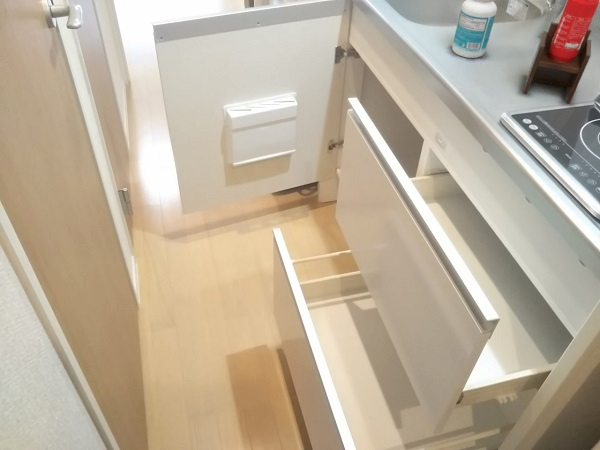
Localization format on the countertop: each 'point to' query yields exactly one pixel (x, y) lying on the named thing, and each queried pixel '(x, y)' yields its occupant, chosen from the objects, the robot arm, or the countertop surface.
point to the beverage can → (572, 29)
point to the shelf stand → (558, 65)
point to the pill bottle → (474, 28)
